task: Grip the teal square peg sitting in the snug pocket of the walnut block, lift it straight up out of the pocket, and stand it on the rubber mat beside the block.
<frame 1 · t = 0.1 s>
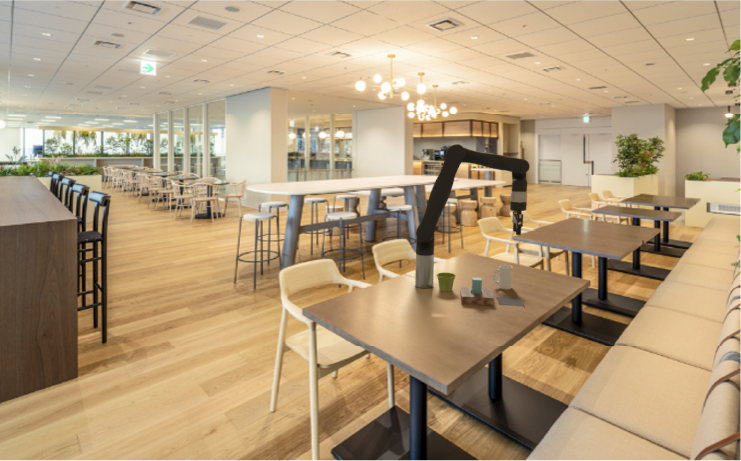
hand: (516, 233, 197), 29 cm above the table, tool pointing down, fingers open, 8 cm apart
mug: (501, 289, 204), on the table
pocket block: (476, 301, 187), on the table
mat: (509, 303, 184), on the table
peg: (476, 299, 186), point 1 cm above the table, touching pocket block
plant pot: (445, 292, 201), on the table
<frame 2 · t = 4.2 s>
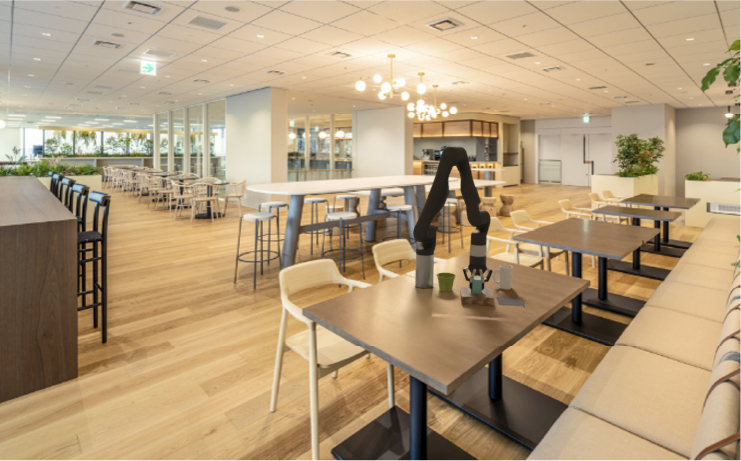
hand: (476, 289, 186), 6 cm above the table, tool pointing down, fingers closed on peg, 4 cm apart
peg: (476, 299, 186), point 1 cm above the table, touching gripper, pocket block
everything else where it was.
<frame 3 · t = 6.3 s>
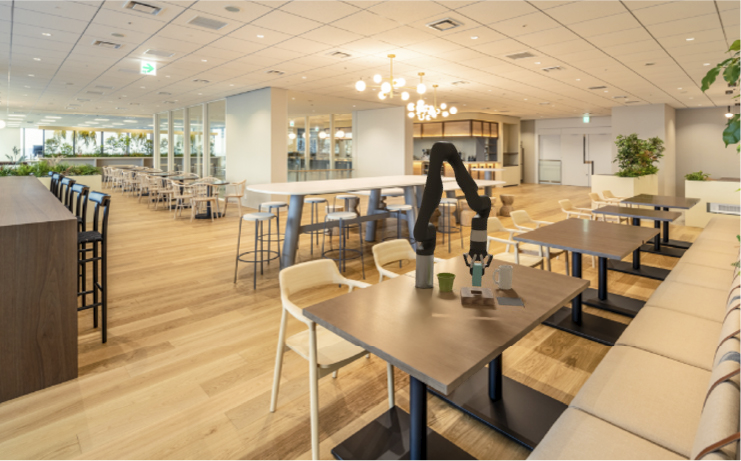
hand: (476, 275, 184), 13 cm above the table, tool pointing down, fingers closed on peg, 4 cm apart
peg: (476, 285, 185), point 8 cm above the table, touching gripper
everything else where it was.
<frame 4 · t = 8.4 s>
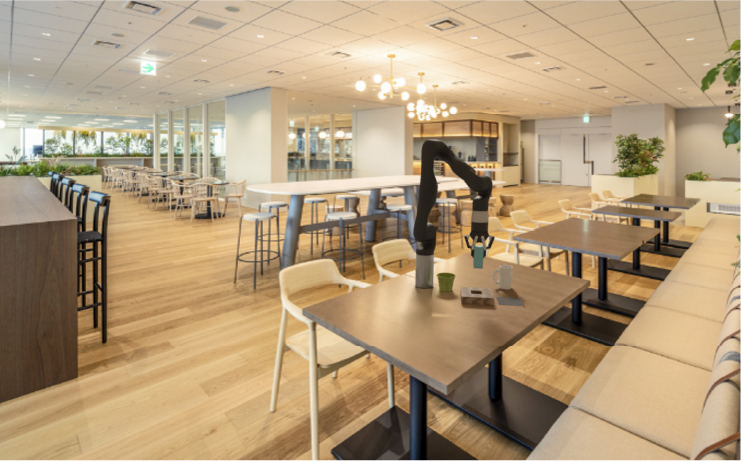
hand: (478, 257, 183), 21 cm above the table, tool pointing down, fingers closed on peg, 4 cm apart
peg: (477, 267, 184), point 16 cm above the table, touching gripper
everything else where it was.
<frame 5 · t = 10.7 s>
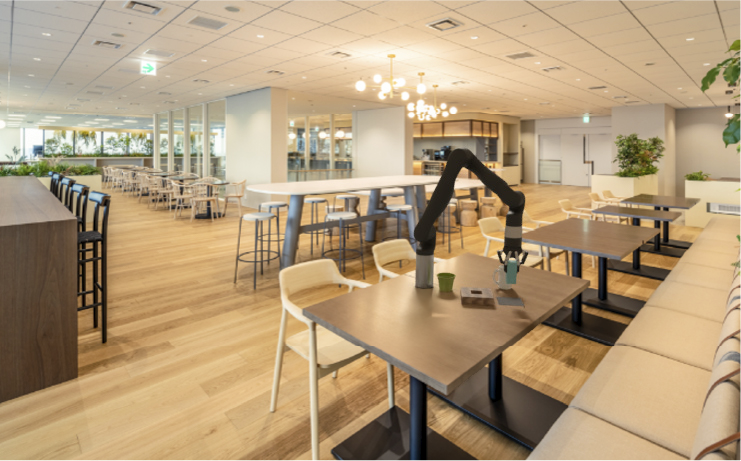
hand: (511, 272, 181), 15 cm above the table, tool pointing down, fingers closed on peg, 4 cm apart
peg: (510, 282, 182), point 10 cm above the table, touching gripper
everything else where it was.
when the fingers open (7 cm above the table, at t = 12.8 s): peg drops 1 cm, resting on mat.
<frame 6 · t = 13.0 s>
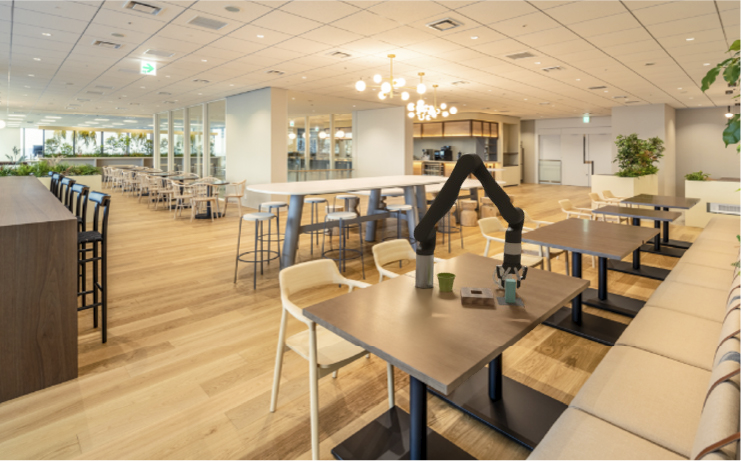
hand: (510, 287, 183), 8 cm above the table, tool pointing down, fingers open, 5 cm apart
peg: (509, 301, 184), point 1 cm above the table, touching mat
everything else where it was.
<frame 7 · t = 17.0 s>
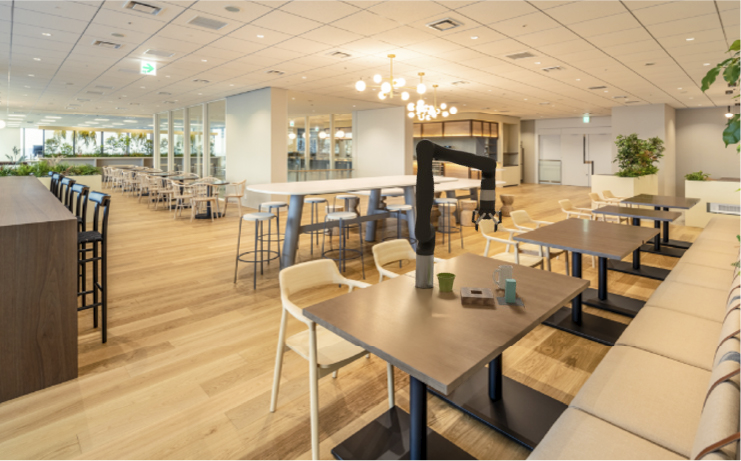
hand: (486, 231, 198), 30 cm above the table, tool pointing down, fingers open, 8 cm apart
nothing on the table moved.
at the end: peg inside the target area on the mat (0.0 cm from its centre), point 1.0 cm above the mat's base; peg tilted 0°; peg touching mat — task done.
